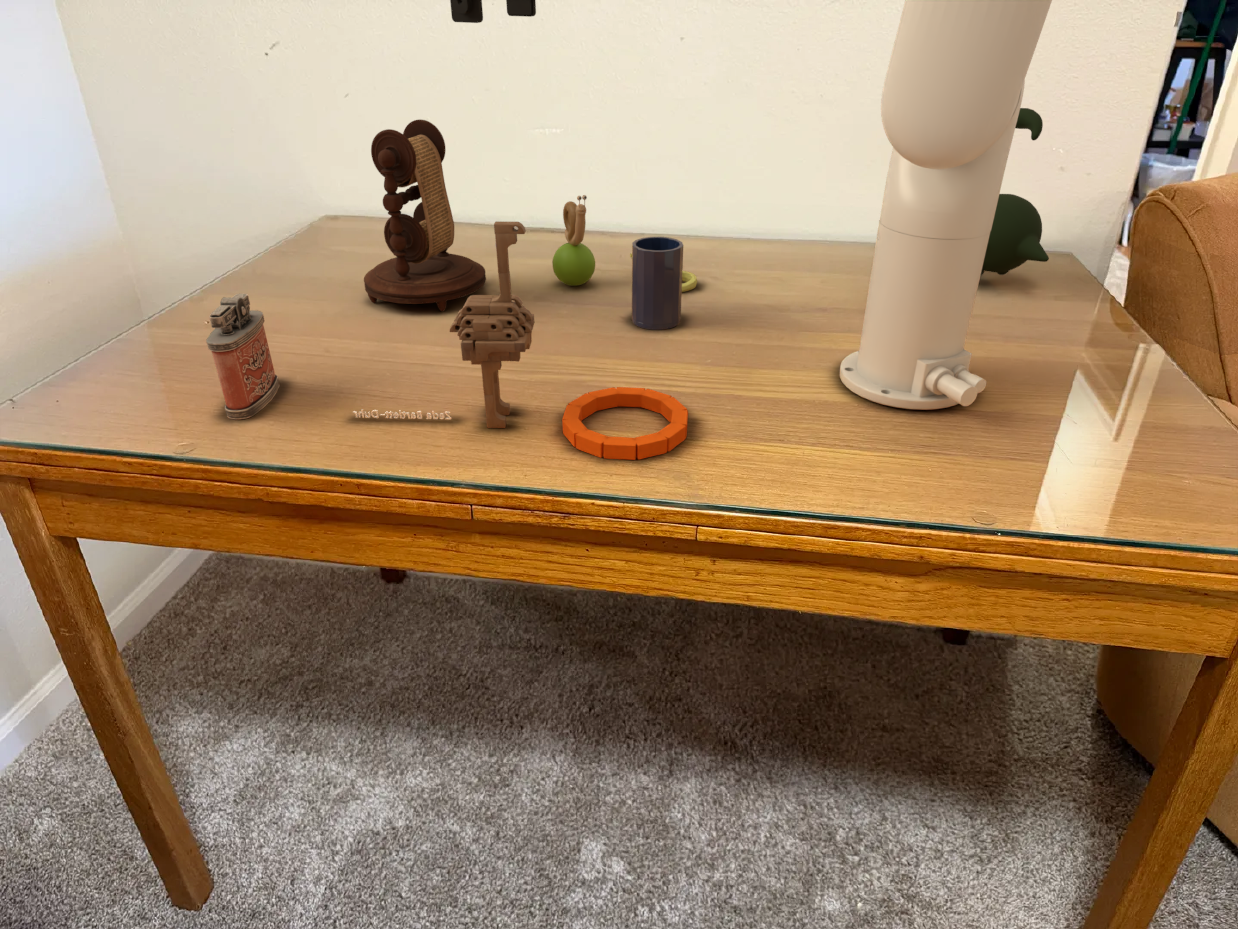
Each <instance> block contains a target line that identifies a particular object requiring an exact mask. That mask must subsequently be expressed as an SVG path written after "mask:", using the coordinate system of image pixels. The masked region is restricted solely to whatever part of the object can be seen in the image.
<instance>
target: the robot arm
mask: <svg viewBox="0 0 1238 929" xmlns="http://www.w3.org/2000/svg"><path fill="white" fill-rule="evenodd" d="M449 1H450V2H449V3H450V12H451V13H450V14H451V19H452V20H451V21H453V22H454V23H466V24H467V23H468V24H471V23H472V24H479V23H482V22H483V21H484V12H483V0H449ZM505 1H506V14H507V15H508V16H509V17H527V18H528V17H529V18H530V17H531V18H532V17H535V16H536V14H537V6H536V4H537V3H536V2H537V1H536V0H505ZM1052 2H1053V0H904V4H903V7H902V11H901V16H900V19H899V24H898V26H897V30H896V35H895V39H894V42H893V46H892V51H891V54H890V58H889V61H888V65H887V70H886V74H885V78H884V82H883V86H882V93H881V99H880V118H881V122H882V127H883V130H884V133H885V135H886V137H887V140H888V141H889V144H890V145H891V146H892V150H891V154H890V159H889V164H888V168H887V175H886V179H885V185H884V190H883V197H882V204H881V209H880V216H879V220H878V227H877V233H876V238H875V247H874V252H873V259H872V264H871V272H870V278H869V283H868V284H869V285H868V290H867V297H866V305H865V309H864V315H863V322H862V329H861V334H860V341H859V348H858V350H857V351H856V350H855V351H854V352H853V351H852V352H851V353H850V354H848V355H846V356H845V357H844V358H843V359H842V361H841V363H840V366H839V378H840V381H841V383H842V384H843V385H844V386H845V387H846V388H847V389H848V390H849V391H851V392H852V393H853V394H856V395H857V396H859V397H861V398H863V399H865V400H868V401H870V402H872V403H873V402H874V403H877V404H880V405H884V406H888V407H893V408H897V409H905V410H917V411H918V410H920V411H922V410H923V411H924V410H926V411H928V410H939V409H940V410H941V409H945V408H946V409H947V408H950V407H954V406H956V405H961V406H962V407H969V406H970V405H972V404H973V402H975V401H976V399H977V397H978V394H980V393H982V392H983V391H984V390H985V388H986V387H987V380H986V379H985V378H983V377H981V376H979V375H977V374H975V373H971V372H970V366H971V360H972V355H973V353H972V352H971V351H968V350H967V349H965V346H966V342H967V337H968V333H969V328H970V324H971V320H972V315H973V311H974V306H975V301H976V297H977V293H978V288H979V283H980V279H981V277H980V275H981V271H982V266H983V262H984V258H985V253H986V249H987V244H988V240H989V235H990V231H991V229H992V224H993V220H994V216H995V211H996V207H997V202H998V198H999V194H1001V193H1000V192H1001V187H1002V184H1003V181H1004V175H1005V171H1006V167H1007V163H1008V159H1009V154H1010V151H1011V147H1012V142H1013V139H1014V134H1015V131H1016V128H1015V127H1016V123H1017V119H1018V115H1019V111H1020V108H1022V107H1021V106H1022V102H1023V97H1024V92H1025V83H1026V82H1025V81H1026V76H1027V74H1028V71H1029V68H1030V65H1031V62H1032V59H1033V56H1034V54H1035V51H1036V48H1037V45H1038V43H1039V39H1040V37H1041V34H1042V31H1043V28H1044V26H1045V22H1046V20H1047V17H1048V13H1049V11H1050V8H1051V5H1052ZM981 276H982V275H981Z"/></svg>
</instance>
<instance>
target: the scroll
mask: <svg viewBox="0 0 1238 929" xmlns="http://www.w3.org/2000/svg"><path fill="white" fill-rule="evenodd" d="M370 152H371V159H372V162H373V164H374V167H375V169H376V170H377V171H378V173H379V174H380V175H381V176H382V177H384V179H383V180H384V181H383V188H384V191H385V192H386V193H385V194H384V195H383V197H382V206H383V208H384V210H386V211H387V215H389V216H390V217H388V219H387V221H386V222H385V224H384V228H383V236H384V241H385V243H386V245H387V248H388V250H390V252H391V254H393V256H394V257H393V258H389V259H387V260H385V261H382V262H380V263H379V264H377V265H375V266H374V267H373V268H371V269H369V271H367V273H365V275H364V278H363V284H364V290H365V292H366V293H367V296H368V299H369V300H370V301H371V303H372V304H373V303H377V302H378V300H379V301H380V300H381V301H383V302H388V303H396V304H408V305H409V304H410V305H411V304H412V305H417V304H433V303H436V306H437V308H438V310H439V311H440V312H445V310H446V308H447V302H448V301H451V300H456V299H460V298H462V297H466V296H468V295H469V296H470V295H472V294H473V293H475V292H477V291H478V290H480V289H481V288H482V287H483V286H484V285H486V282H487V276H486V268H485V267H484V266H483V265H482V264H480V263H479V262H477V261H475V260H473V259H471V258H469V257H467V256H463V255H461V254H455V253H449V252H448V250H449V249H450V248H451V247H452V245H453V244H454V240H455V221H454V218H453V213H452V209H451V205H450V204H451V203H450V200H449V196H448V192H447V187H446V182H445V175H444V170H443V169H444V168H443V161H444V159H445V157H446V141H445V139H444V136H443V135H442V133H441V131H440V129H439V128H438V127H437V126H436V125H435V124H433V123H432V122H431V121H428V120H426V119H414V120H412V121H410V122H409V123H408V124H406V126H405V128H404V129H403V132H400V131H398V130H396V129H389V128H387V129H383V130H381V131H379V132H378V133H377V134H376V135H375V136H374V137H373V139H372V142H371V147H370ZM416 183H417V184H416ZM413 184H415V185H413ZM409 186H410V187H409ZM406 187H408V188H407V189H405V191H399V192H397V191H398V189H399V188H406ZM418 200H421V201H420V202H419V203H418V204H417V205H416V206H415V209H414V211H413V215H412V216H411V215H409V214H406V213H402V211H401V210H402V209H403V207H404V206H405V205H407V204H408V203H409V202H413V201H418Z"/></svg>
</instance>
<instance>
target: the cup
mask: <svg viewBox="0 0 1238 929" xmlns="http://www.w3.org/2000/svg"><path fill="white" fill-rule="evenodd" d="M631 254H632V257H631V323H632V324H633V325H635V326H636V327H638V328H641V329H646V330H650V331H651V330H652V331H660V330H661V331H662V330H668V329H672V328H675V327H677V326H678V325H679V324H680V323H681V317H682V297H683V295H682V293H683V292H682V284H683V281H682V271H684V270H683V269H684V268H683V264H684V243H683V241H682V240H680V239H677V238H674V237H667V236H646V237H645V236H644V237H640V238H637V239H635V240H634V241H632V243H631Z"/></svg>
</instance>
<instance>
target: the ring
mask: <svg viewBox="0 0 1238 929" xmlns="http://www.w3.org/2000/svg"><path fill="white" fill-rule="evenodd" d="M617 407H622V408H623V407H625V408H627V407H628V408H641V409H645V410H648V411H652V412H655V413H658V414H661V415H662V416H663V417H664V418H665V419H666V420H667V421H668V422H669V424H667V425H666V426H664V427H663V428H662V429H660V430H659V431H657V432H653V433H648V434H645V435H639V436H636V437H635V436H634V437H627V436H625V437H624V436H608V435H605V434H602V433H599V432H597V431H594V430H591V429H588V428H587V427H586V425H585V424H584V423H583V420H585V419H587V417H590V416H591V415H593V414H594V413H595V412H599V411H602V410H603V411H604V410H607V409H612V408H617ZM688 418H689V410H688V408H687V407H686V406H684V404H683V403H681V402H680V401H679V400H678V399H676V397H674V396H672V395H670V394H667V393H663V392H660V391H657V390H653V389H650V388H645V387H630V386H629V387H627V386H617V387H614V386H612V387H608V388H602V389H597V390H592V391H589V392H586V393H584V394H582V395H580V396H579V397H577V398H575V399H573V400H572V401H570V402H568V403H567V405H566V406H565V409H564V413H563V416H562V418H561V421H562V422H561V424H562V434H563V436H564V437H565V438H566V439H567V440H568V441H569V443H570V444H571V445H572V446H573V447H574V448H575V449H576V450H578V451H582V452H584V453H587V454H589V455H592V456H595V457H597V458H601V459H602V458H603V459H608V460H628V461H629V460H631V461H635V460H636V459H637V460H644V459H647V458H651V457H655V456H660V455H664V454H667V452H671V451H672V450H673V449H675V447H677V446H679V445H680V444H681V443H683V442H684V441H686V438H687V436H688V421H689V420H688Z"/></svg>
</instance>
